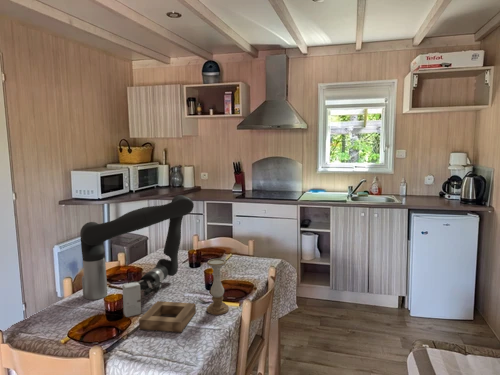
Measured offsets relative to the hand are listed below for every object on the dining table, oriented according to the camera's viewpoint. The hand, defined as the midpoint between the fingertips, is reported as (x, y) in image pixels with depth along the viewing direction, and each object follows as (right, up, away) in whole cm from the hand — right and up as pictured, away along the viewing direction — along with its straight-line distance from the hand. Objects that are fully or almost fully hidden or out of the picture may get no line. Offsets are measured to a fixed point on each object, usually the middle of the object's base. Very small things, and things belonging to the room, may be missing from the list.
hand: (135, 293), depth 150 cm
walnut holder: (+16, -8, -9) cm, 20 cm away
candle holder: (+33, -7, 0) cm, 34 cm away
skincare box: (0, -8, -2) cm, 8 cm away
